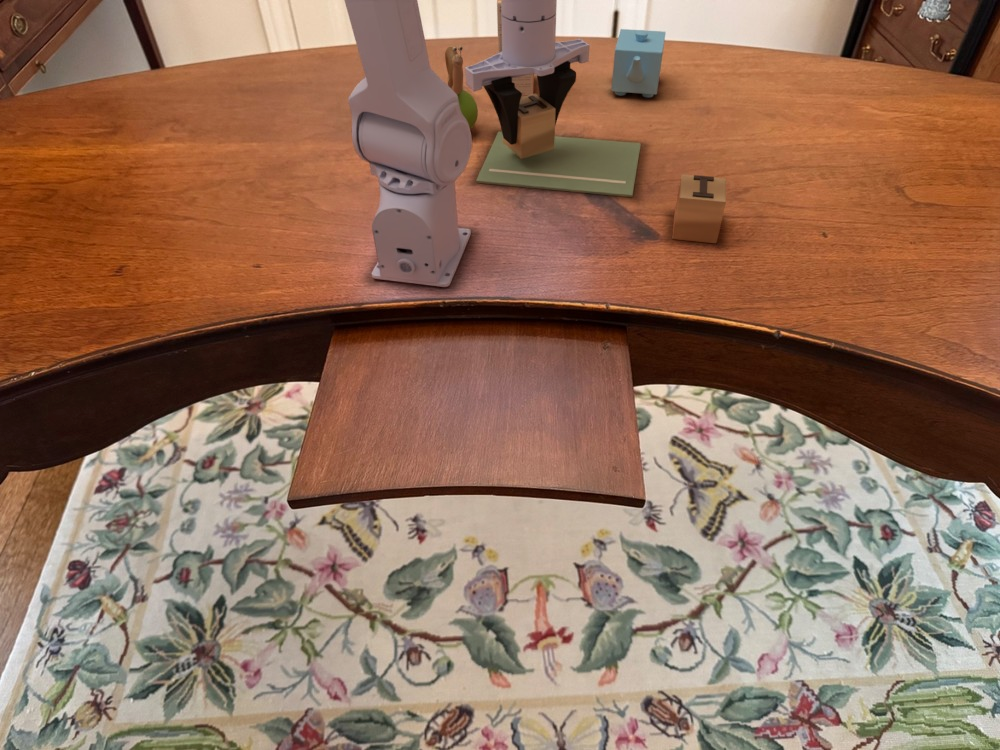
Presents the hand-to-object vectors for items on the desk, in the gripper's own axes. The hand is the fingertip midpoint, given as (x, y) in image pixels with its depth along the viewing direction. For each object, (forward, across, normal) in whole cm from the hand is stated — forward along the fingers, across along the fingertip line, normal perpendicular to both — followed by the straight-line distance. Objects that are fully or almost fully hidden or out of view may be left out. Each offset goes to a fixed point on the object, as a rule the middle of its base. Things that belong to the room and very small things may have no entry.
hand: (528, 135), depth 84 cm
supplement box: (+3, +8, +17) cm, 19 cm away
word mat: (+3, +3, -3) cm, 5 cm away
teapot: (+3, +22, +9) cm, 24 cm away
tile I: (+3, +8, -21) cm, 23 cm away
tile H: (+1, 0, 0) cm, 1 cm away
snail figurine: (+3, -4, +10) cm, 12 cm away
